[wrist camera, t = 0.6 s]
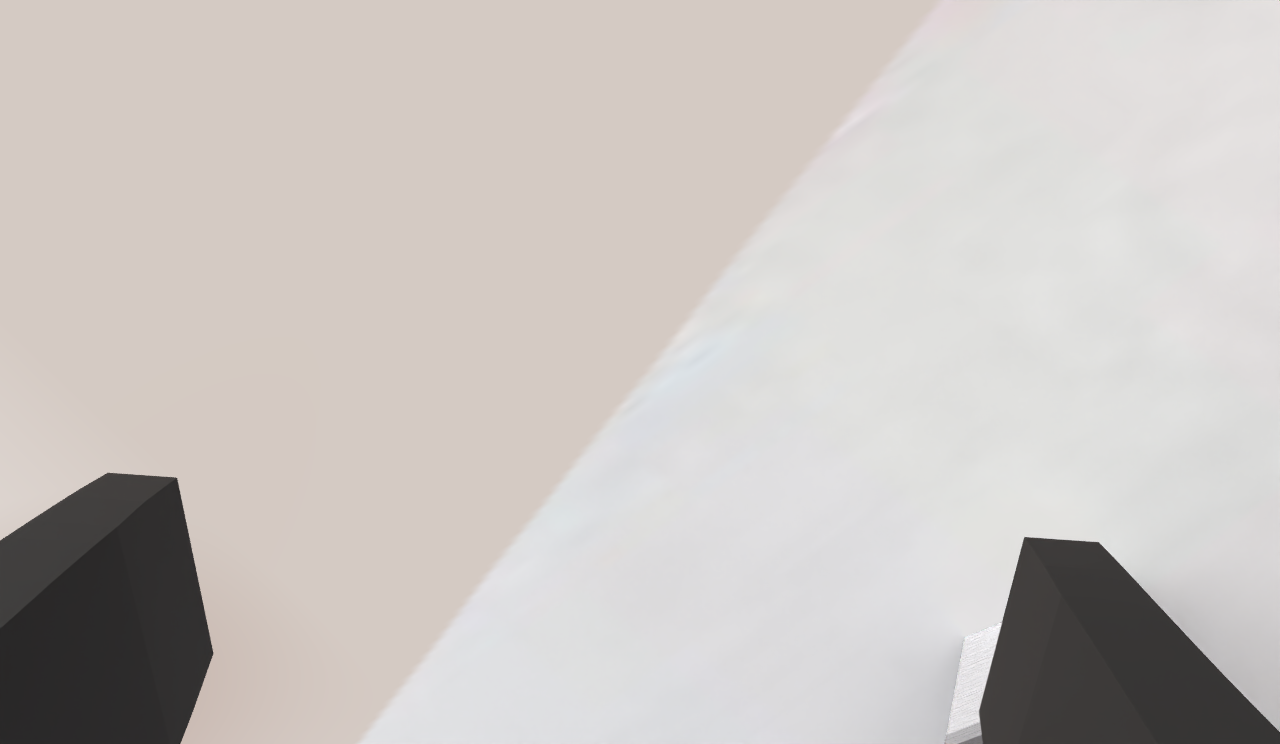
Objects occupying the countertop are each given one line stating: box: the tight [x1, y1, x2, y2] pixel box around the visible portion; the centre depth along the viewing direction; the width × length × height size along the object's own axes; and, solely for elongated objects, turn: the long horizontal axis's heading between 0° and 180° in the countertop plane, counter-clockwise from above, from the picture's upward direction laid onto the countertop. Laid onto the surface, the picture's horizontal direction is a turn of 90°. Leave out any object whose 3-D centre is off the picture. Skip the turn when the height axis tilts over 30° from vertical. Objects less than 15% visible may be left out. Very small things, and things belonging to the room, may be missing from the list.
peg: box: [945, 622, 1002, 744], centre depth 26 cm, size 4×4×8 cm
